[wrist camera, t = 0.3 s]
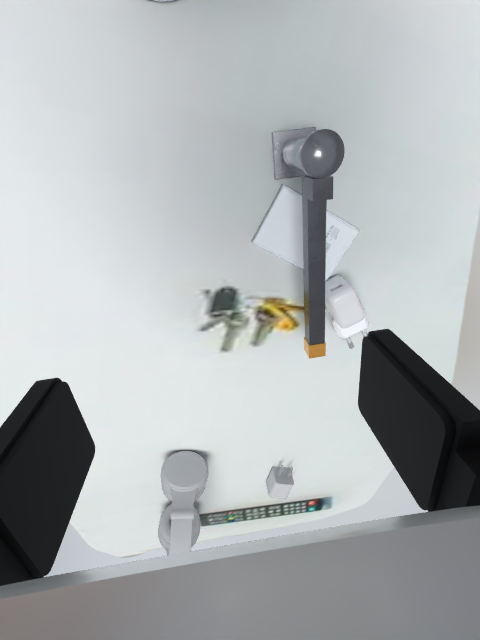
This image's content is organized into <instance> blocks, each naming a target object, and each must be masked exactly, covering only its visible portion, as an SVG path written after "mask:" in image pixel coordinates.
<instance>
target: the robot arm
mask: <svg viewBox="0 0 480 640" xmlns="http://www.w3.org/2000/svg"><path fill="white" fill-rule="evenodd" d="M153 1H158V2H164V1H174V0H153ZM358 406H359V410H360V412H361V414H362V416H363V417H364V419H365V420H366V422H367V424H368V425H369V427H370V428H371V430H372V432H373V433H374V435H375V436H376V438H377V440H378V441H379V443H380V444H381V446H382V448H383V449H384V451H385V452H386V454H387V456H388V457H389V459H390V460H391V462H392V464H393V465H394V467H395V468H396V470H397V471H398V473H399V475H400V476H401V478H402V480H403V481H404V483H405V484H406V486H407V487H408V489H409V491H410V492H411V494H412V495H413V497H414V498H415V500H416V502H417V504H418V505H419V506H420V507H421V508H422V509H423V510H428V511H429V512H426V513H418V514H411V515H405V516H398V517H391V518H385V519H379V520H373V521H367V522H362V523H355V524H349V525H343V526H337V527H331V528H326V529H319V530H313V531H308V532H301V533H295V534H289V535H283V536H278V537H272V538H266V539H260V540H254V541H248V542H243V543H236V544H231V545H225V546H219V547H214V548H208V549H202V550H196V551H190V552H184V553H179V554H173V555H167V556H161V557H156V558H150V559H144V560H139V561H134V562H128V563H122V564H117V565H111V566H105V567H100V568H94V569H88V570H83V571H77V572H72V573H66V574H61V575H55V576H50V577H44V576H45V575H47V574H48V573H49V572H50V571H51V568H52V566H53V564H54V561H55V558H56V556H57V553H58V550H59V547H60V545H61V542H62V539H63V537H64V534H65V532H66V529H67V526H68V524H69V521H70V518H71V516H72V513H73V511H74V508H75V505H76V503H77V500H78V497H79V495H80V492H81V489H82V487H83V484H84V481H85V479H86V476H87V473H88V471H89V468H90V465H91V463H92V460H93V457H94V454H95V445H94V442H93V440H92V437H91V435H90V433H89V430H88V428H87V426H86V424H85V421H84V419H83V417H82V415H81V412H80V410H79V408H78V406H77V403H76V401H75V399H74V397H73V394H72V392H71V390H70V387H69V385H68V384H67V383H66V382H62V381H61V380H60V379H59V378H53V379H46V380H39V381H36V382H35V383H34V385H33V386H32V387H31V388H30V390H29V391H28V392H27V394H26V395H25V396H24V397H23V399H22V400H21V401H20V403H19V404H18V405H17V407H16V408H15V409H14V410H13V412H12V413H11V414H10V416H9V417H8V418H7V419H6V421H5V422H4V423H3V425H2V426H1V427H0V640H480V410H478V409H477V408H476V407H475V406H474V405H473V404H472V403H471V402H470V401H469V400H467V399H466V398H465V397H464V396H463V395H462V394H461V393H460V392H458V390H456V389H455V388H454V387H453V386H452V385H451V384H450V383H449V382H448V381H446V380H445V379H444V378H443V377H442V376H441V375H440V374H439V373H438V372H436V371H435V370H434V369H433V368H432V367H431V366H430V365H429V364H428V363H426V362H425V361H424V360H423V359H422V358H421V357H420V356H419V355H417V354H416V353H415V352H414V351H413V350H412V349H411V348H410V347H409V346H407V345H406V344H405V343H404V342H403V341H402V340H401V339H400V338H399V337H397V336H396V335H395V334H394V333H393V332H392V331H391V330H389V329H383V330H377V331H370V332H369V333H368V335H367V337H364V338H363V342H362V355H361V369H360V382H359V396H358ZM43 577H44V578H43Z"/></svg>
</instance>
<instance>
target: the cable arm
mask: <svg viewBox="0 0 480 640" xmlns="http://www.w3.org/2000/svg"><path fill="white" fill-rule="evenodd" d="M343 157H344V144H343V141H342V139H341V137H340V136H339V135H338V134H337V133H336V132H334V131H332V130H329V129H323V130H317V131H314V132H312V133H310V134H309V135H308V136H307V137H306V138H305V139H304V140H303V142H302V144H301V146H300V149H299V154H298V159H299V164H300V167H301V169H302V170H303V171H304V172H305V173H306V174H307V175H309V176H303V177H302V216H303V263H304V310H305V337H304V349H305V351H306V353H307V355H308V357H309V358H315V357H321V356H325V347H326V343H325V269H326V200H327V199H333V177H332V176H330V175H332V174H333V173H334V172H336V171H337V169H338V168H339V167H340V165H341V163H342V161H343Z"/></svg>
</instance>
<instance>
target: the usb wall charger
mask: <svg viewBox="0 0 480 640" xmlns="http://www.w3.org/2000/svg"><path fill="white" fill-rule="evenodd" d="M291 468H292V466H291ZM291 468H290V469H289V468H286V467H283V465H282V466H281V467H276V466H274V467H273V468H272V470H271V472H270V475H269V477H268V479H267V481H266V484H267V489H268V495H269V496H270V497H271V498H279V499H286V498H287V496H288V494H289V492H290V490H291V488H292V486H293V484H294V480H293V477H292V473H291V472H292V470H293V468H292V470H291Z"/></svg>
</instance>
